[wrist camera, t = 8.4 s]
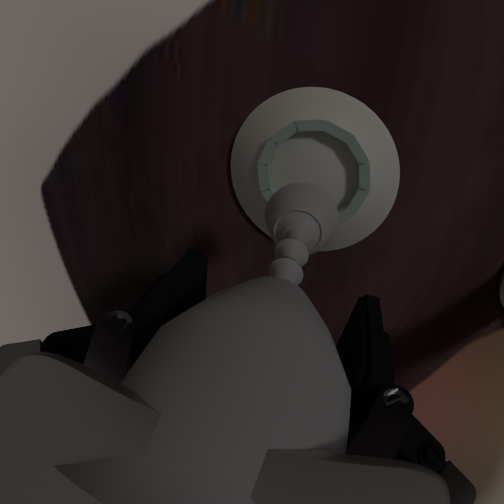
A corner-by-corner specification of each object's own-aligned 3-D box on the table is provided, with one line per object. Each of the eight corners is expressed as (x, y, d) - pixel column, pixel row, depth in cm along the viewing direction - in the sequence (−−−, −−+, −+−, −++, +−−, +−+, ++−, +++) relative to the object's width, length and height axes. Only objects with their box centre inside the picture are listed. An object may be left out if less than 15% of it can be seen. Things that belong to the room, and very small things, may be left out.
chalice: (375, 222, 17) (410, 552, 2) (306, 281, 21) (235, 543, 6) (293, 145, 17) (25, 455, 1) (230, 217, 20) (46, 452, 5)
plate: (424, 204, 29) (429, 211, 27) (291, 271, 39) (288, 281, 37) (336, 56, 24) (337, 52, 22) (202, 150, 34) (194, 153, 32)
